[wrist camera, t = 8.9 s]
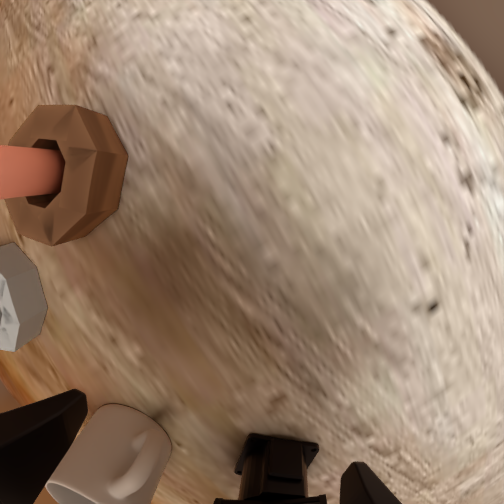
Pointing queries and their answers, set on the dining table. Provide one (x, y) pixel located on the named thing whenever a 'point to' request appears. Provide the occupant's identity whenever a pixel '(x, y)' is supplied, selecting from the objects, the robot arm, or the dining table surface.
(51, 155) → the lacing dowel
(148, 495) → the mug
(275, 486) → the robot arm
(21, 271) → the slate bead
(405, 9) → the dining table surface
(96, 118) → the walnut bead
